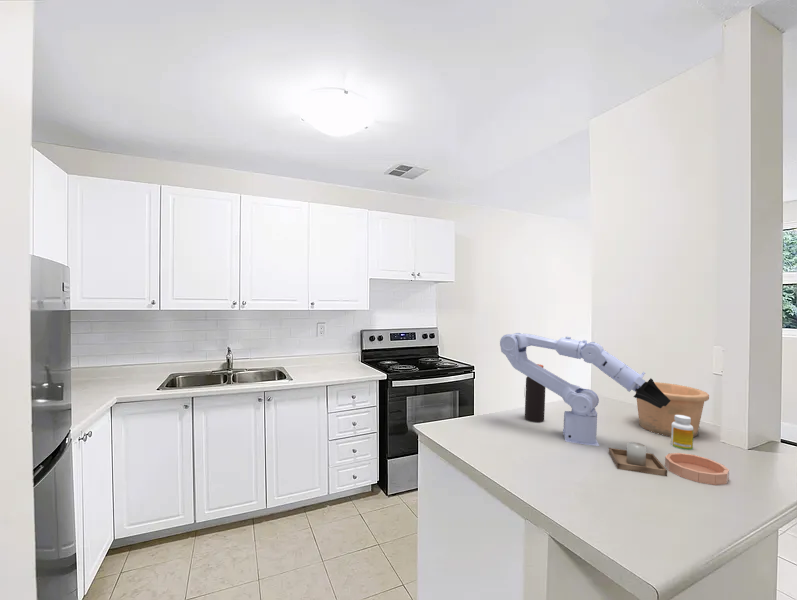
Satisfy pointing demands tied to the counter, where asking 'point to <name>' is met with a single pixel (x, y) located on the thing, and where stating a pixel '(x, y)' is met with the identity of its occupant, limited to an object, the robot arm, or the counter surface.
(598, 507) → the counter surface
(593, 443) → the robot arm
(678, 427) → the supplement bottle
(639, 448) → the stone
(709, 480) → the bowl
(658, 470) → the tray
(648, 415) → the pottery
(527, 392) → the vinegar
